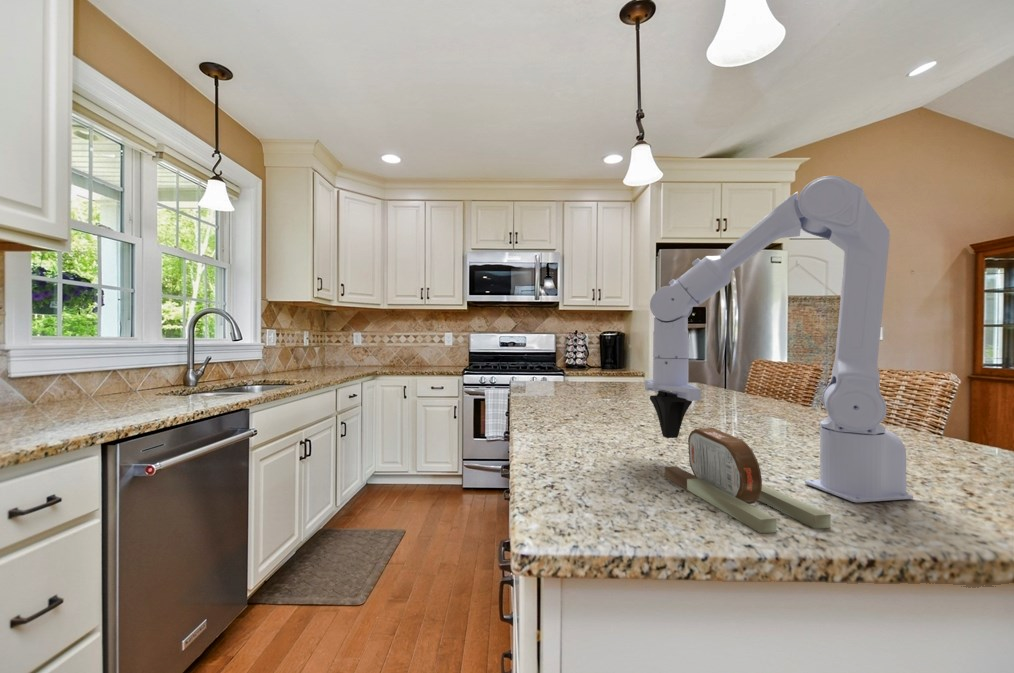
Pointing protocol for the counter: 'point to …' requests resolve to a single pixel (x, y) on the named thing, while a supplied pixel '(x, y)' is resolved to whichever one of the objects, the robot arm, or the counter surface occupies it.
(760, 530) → the rail
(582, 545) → the counter surface
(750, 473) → the tin
